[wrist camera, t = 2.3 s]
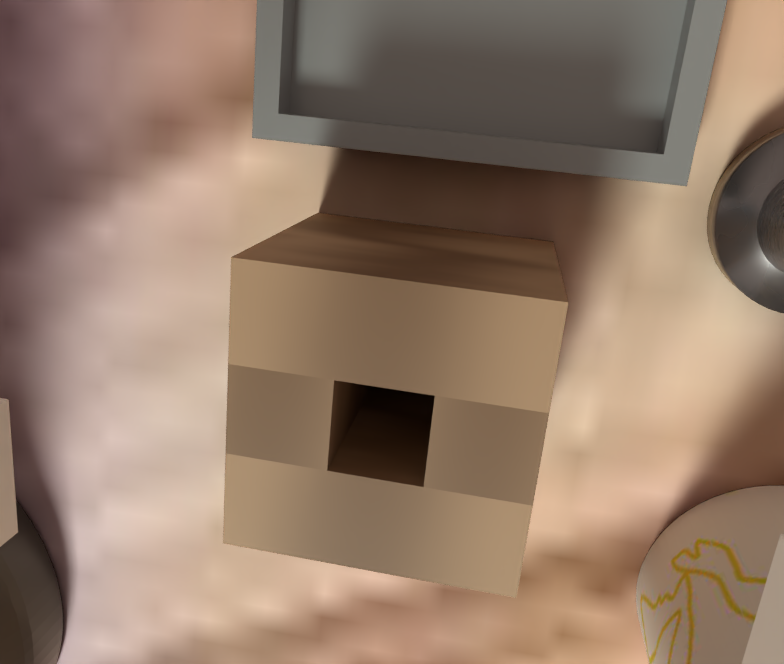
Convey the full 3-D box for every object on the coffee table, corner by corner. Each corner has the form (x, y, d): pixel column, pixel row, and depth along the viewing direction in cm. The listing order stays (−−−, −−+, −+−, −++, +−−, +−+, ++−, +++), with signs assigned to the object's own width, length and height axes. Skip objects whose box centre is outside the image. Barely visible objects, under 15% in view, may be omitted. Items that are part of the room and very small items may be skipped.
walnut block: (304, 424, 24) (223, 543, 17) (318, 212, 22) (231, 257, 15) (517, 458, 23) (516, 597, 17) (553, 241, 21) (568, 302, 14)
